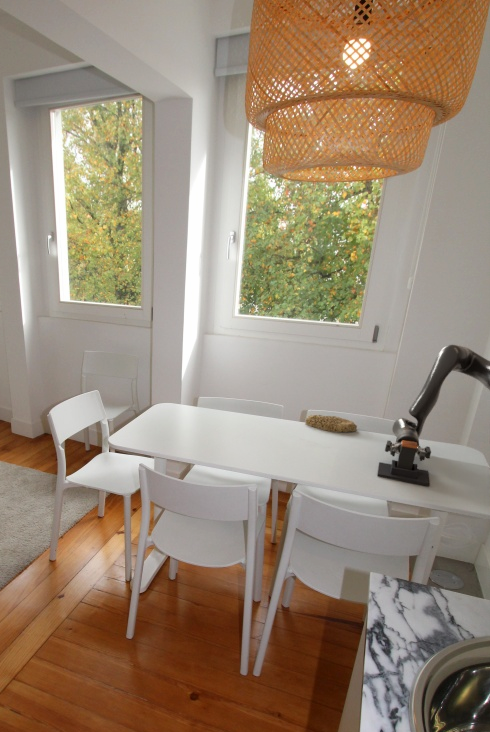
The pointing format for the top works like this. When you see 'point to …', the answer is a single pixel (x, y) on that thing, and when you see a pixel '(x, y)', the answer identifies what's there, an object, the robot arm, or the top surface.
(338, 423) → the sponge
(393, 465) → the base pad
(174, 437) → the top surface
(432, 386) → the robot arm
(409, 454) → the black and orange block
